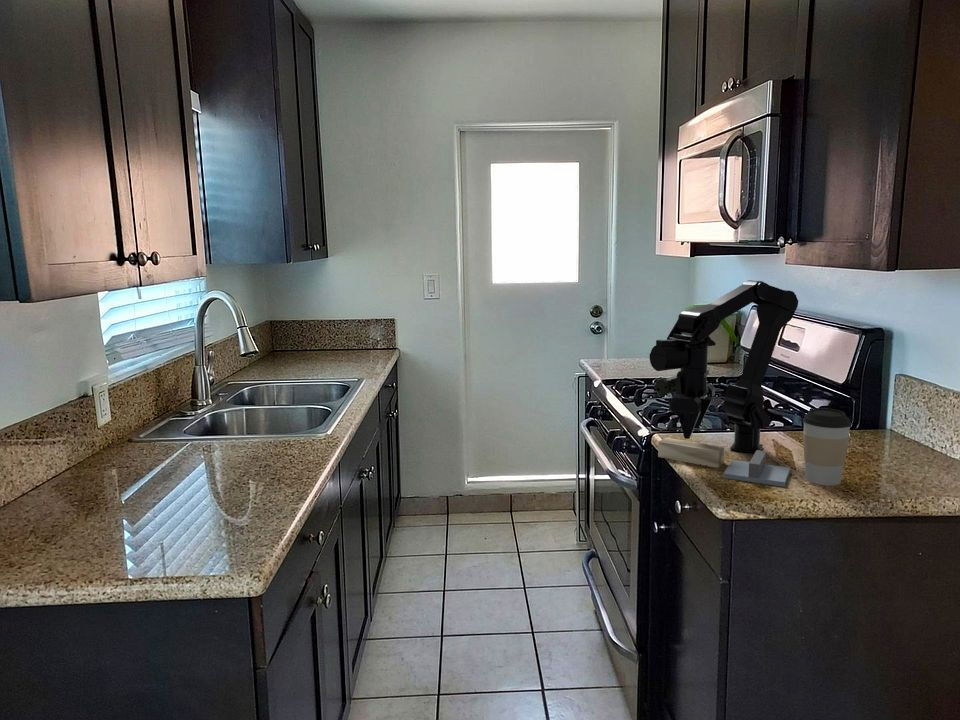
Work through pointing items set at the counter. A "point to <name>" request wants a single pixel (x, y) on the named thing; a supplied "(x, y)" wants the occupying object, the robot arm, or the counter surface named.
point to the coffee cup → (825, 445)
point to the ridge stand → (757, 471)
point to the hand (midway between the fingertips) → (691, 433)
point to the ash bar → (691, 452)
